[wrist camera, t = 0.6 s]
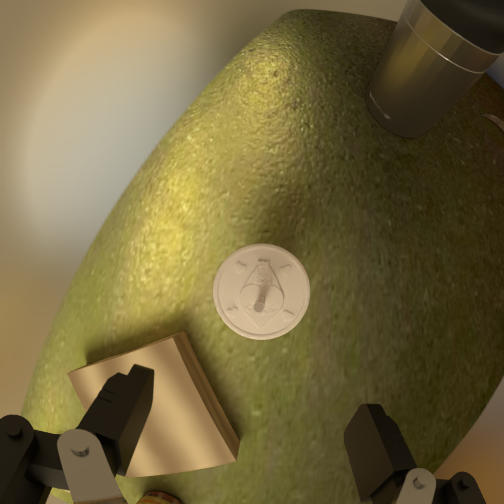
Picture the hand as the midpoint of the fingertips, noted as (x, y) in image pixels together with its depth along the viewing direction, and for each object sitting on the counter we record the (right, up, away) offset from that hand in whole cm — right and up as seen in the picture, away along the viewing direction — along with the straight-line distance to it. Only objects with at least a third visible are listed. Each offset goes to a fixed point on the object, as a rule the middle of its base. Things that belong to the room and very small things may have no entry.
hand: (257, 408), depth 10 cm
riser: (-11, -11, +18) cm, 24 cm away
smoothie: (+1, +2, +19) cm, 19 cm away
